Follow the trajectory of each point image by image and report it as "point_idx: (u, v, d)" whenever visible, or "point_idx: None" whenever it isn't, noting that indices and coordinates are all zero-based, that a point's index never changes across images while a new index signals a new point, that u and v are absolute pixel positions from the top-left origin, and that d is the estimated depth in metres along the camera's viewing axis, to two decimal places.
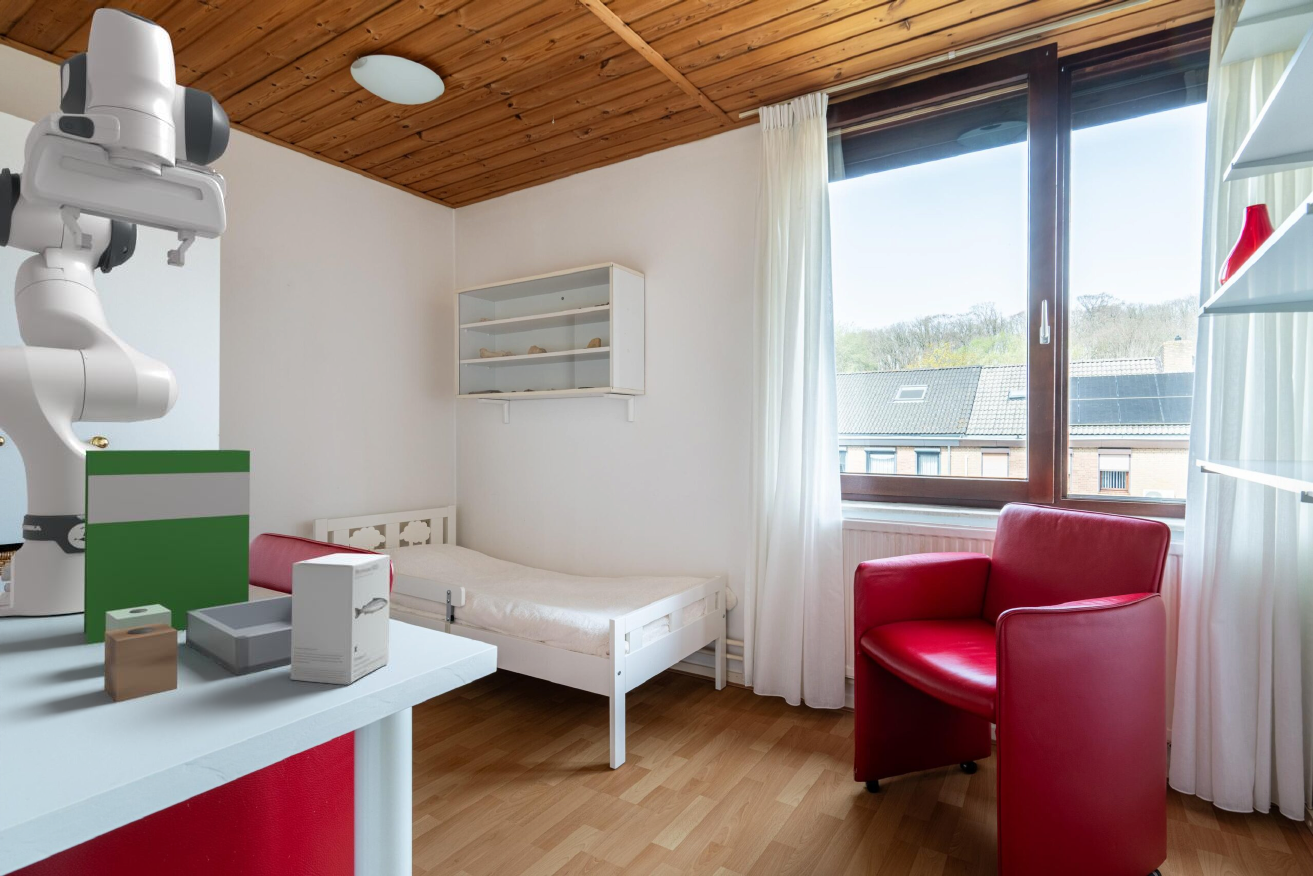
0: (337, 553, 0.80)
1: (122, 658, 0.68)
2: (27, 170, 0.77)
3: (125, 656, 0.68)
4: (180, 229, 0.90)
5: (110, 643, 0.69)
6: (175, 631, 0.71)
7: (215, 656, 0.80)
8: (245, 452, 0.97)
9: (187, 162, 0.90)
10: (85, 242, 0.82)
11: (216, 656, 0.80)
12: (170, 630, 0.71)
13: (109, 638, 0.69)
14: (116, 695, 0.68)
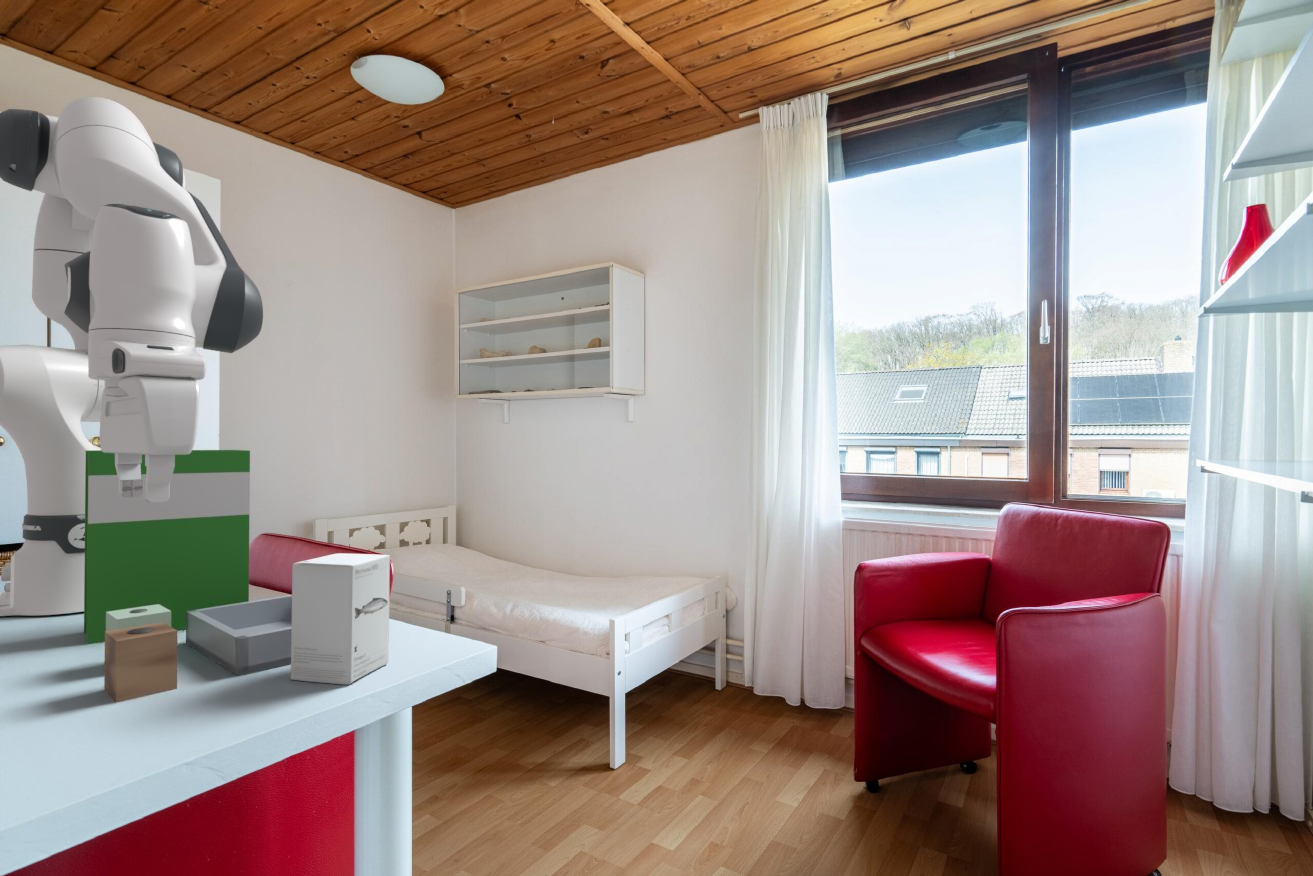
0: (337, 553, 0.80)
1: (122, 658, 0.68)
2: (195, 425, 0.66)
3: (125, 656, 0.68)
4: None
5: (110, 643, 0.69)
6: (175, 631, 0.71)
7: (215, 656, 0.80)
8: (245, 452, 0.97)
9: None
10: None
11: (216, 656, 0.80)
12: (170, 630, 0.71)
13: (109, 638, 0.69)
14: (116, 695, 0.68)
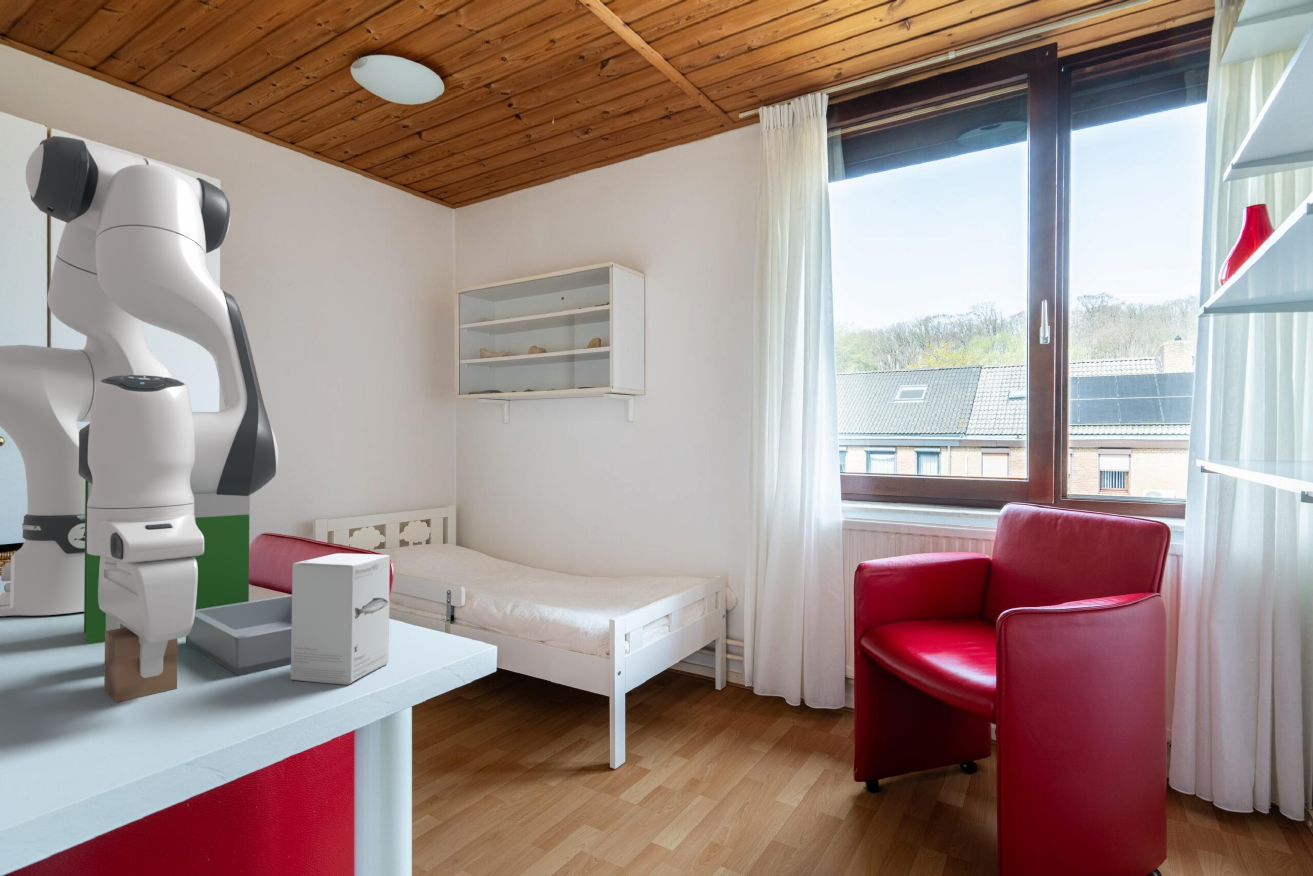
0: (337, 553, 0.80)
1: (122, 658, 0.68)
2: (193, 608, 0.66)
3: (125, 655, 0.68)
4: None
5: (110, 642, 0.69)
6: None
7: (215, 656, 0.80)
8: None
9: None
10: None
11: (216, 656, 0.80)
12: None
13: (109, 637, 0.69)
14: (116, 694, 0.68)
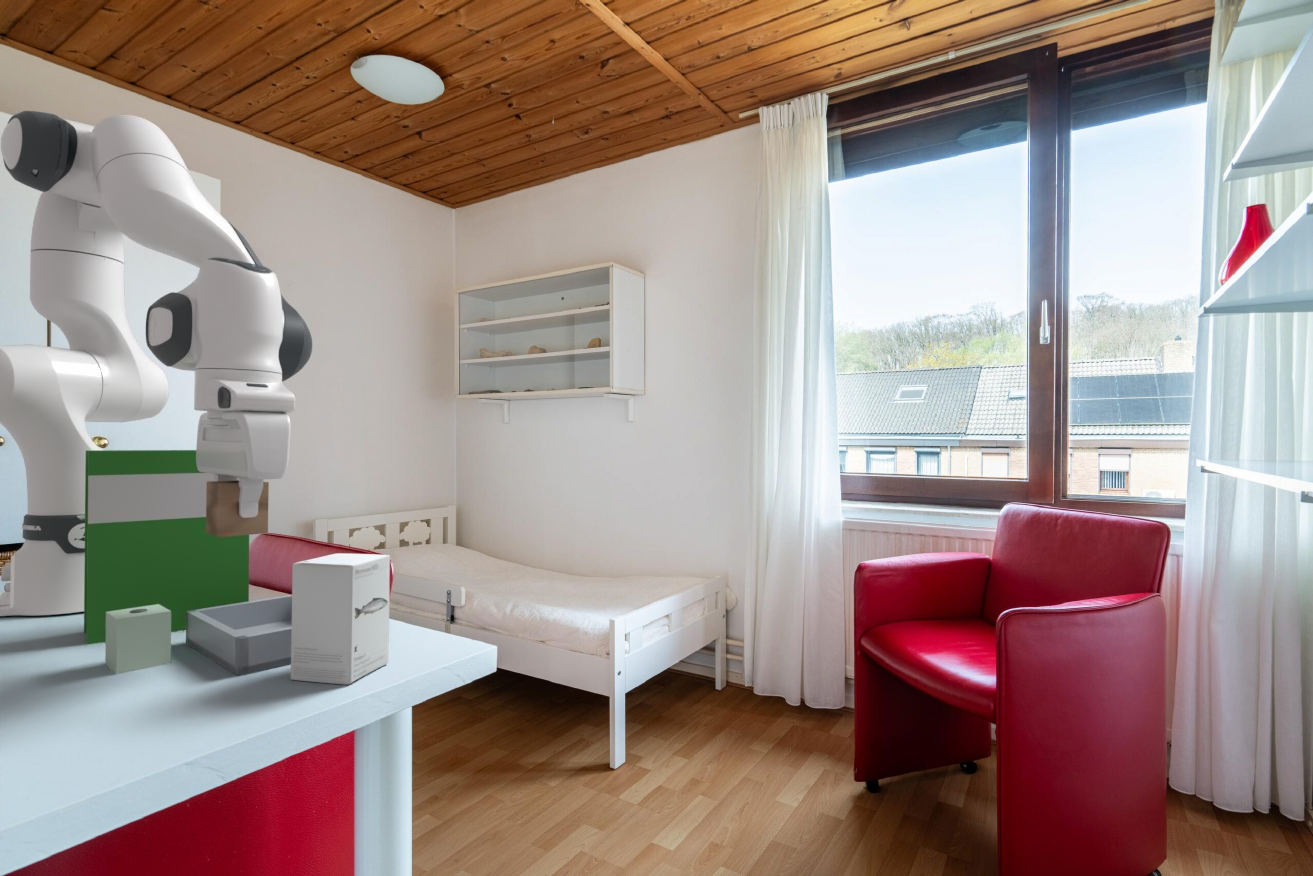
0: (337, 553, 0.80)
1: (224, 499, 0.78)
2: (287, 453, 0.76)
3: (227, 498, 0.79)
4: None
5: (213, 488, 0.80)
6: (266, 482, 0.82)
7: (215, 656, 0.80)
8: None
9: None
10: None
11: (216, 656, 0.80)
12: None
13: (211, 485, 0.80)
14: (219, 531, 0.78)
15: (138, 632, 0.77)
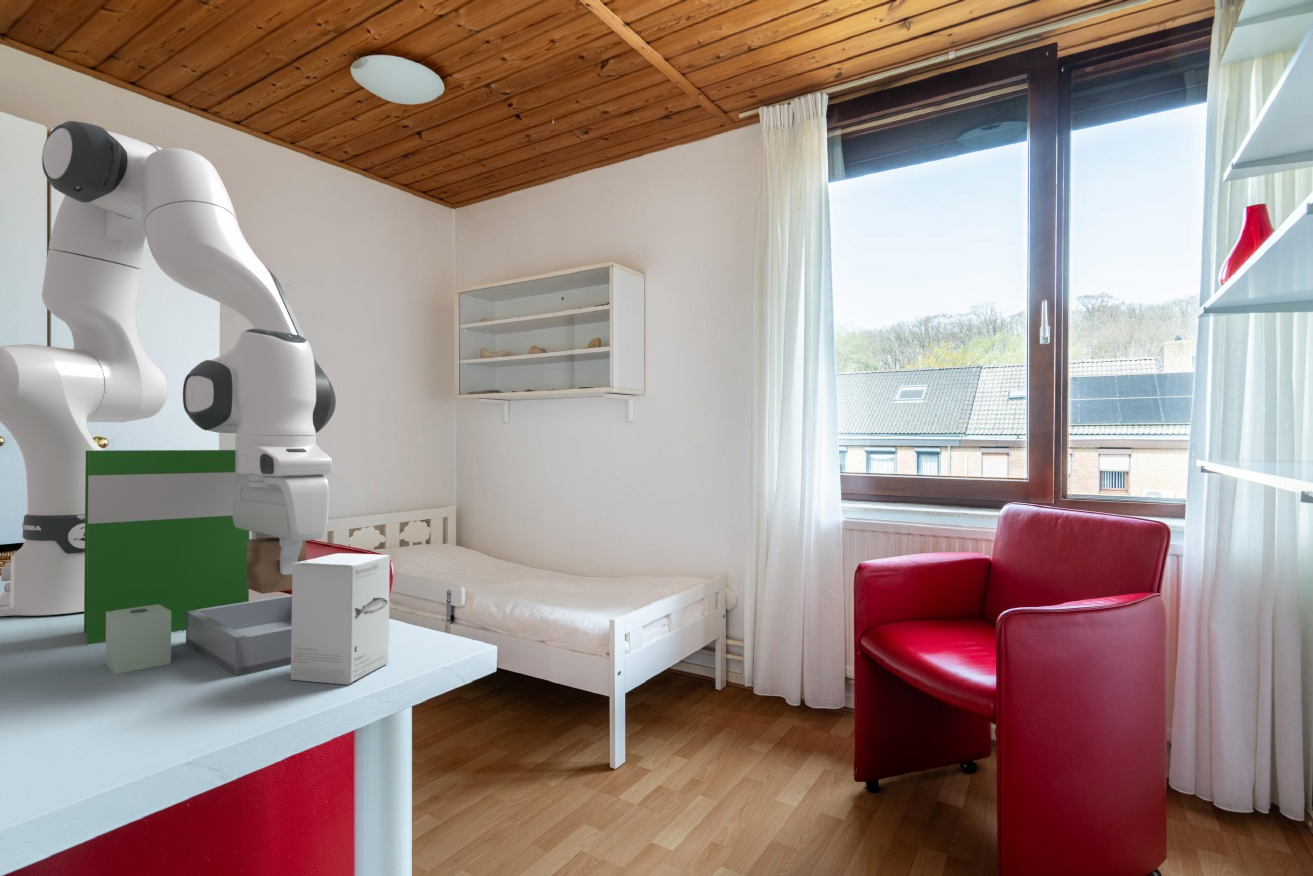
0: (337, 553, 0.80)
1: (266, 558, 0.83)
2: (327, 515, 0.81)
3: (268, 556, 0.83)
4: None
5: (254, 547, 0.84)
6: None
7: (215, 656, 0.80)
8: None
9: None
10: None
11: (216, 656, 0.80)
12: None
13: (253, 543, 0.85)
14: (262, 588, 0.83)
15: (138, 632, 0.77)
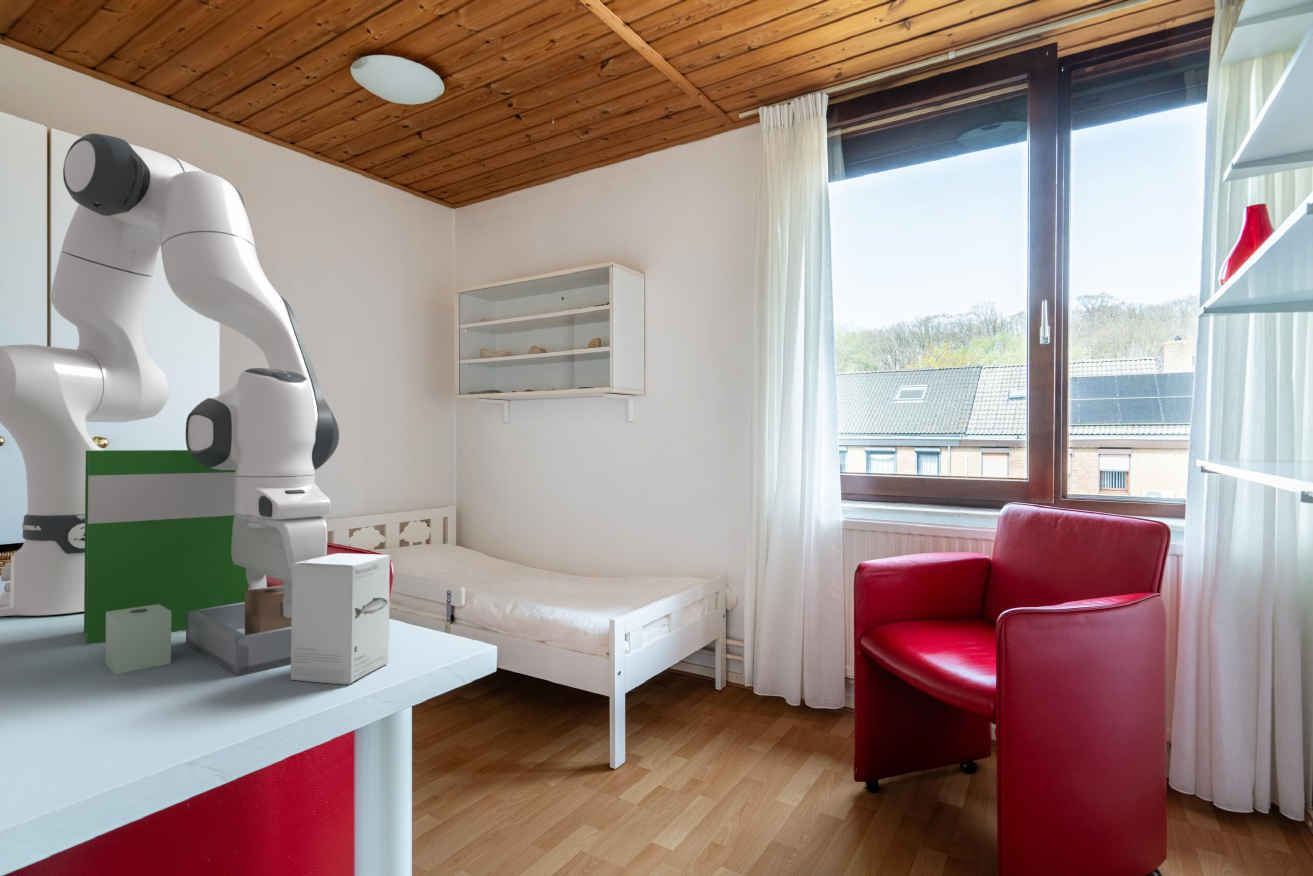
0: (337, 553, 0.80)
1: (263, 611, 0.83)
2: None
3: (266, 609, 0.83)
4: None
5: (252, 599, 0.84)
6: None
7: (215, 656, 0.80)
8: None
9: None
10: None
11: (216, 656, 0.80)
12: None
13: (250, 595, 0.85)
14: None
15: (138, 632, 0.77)
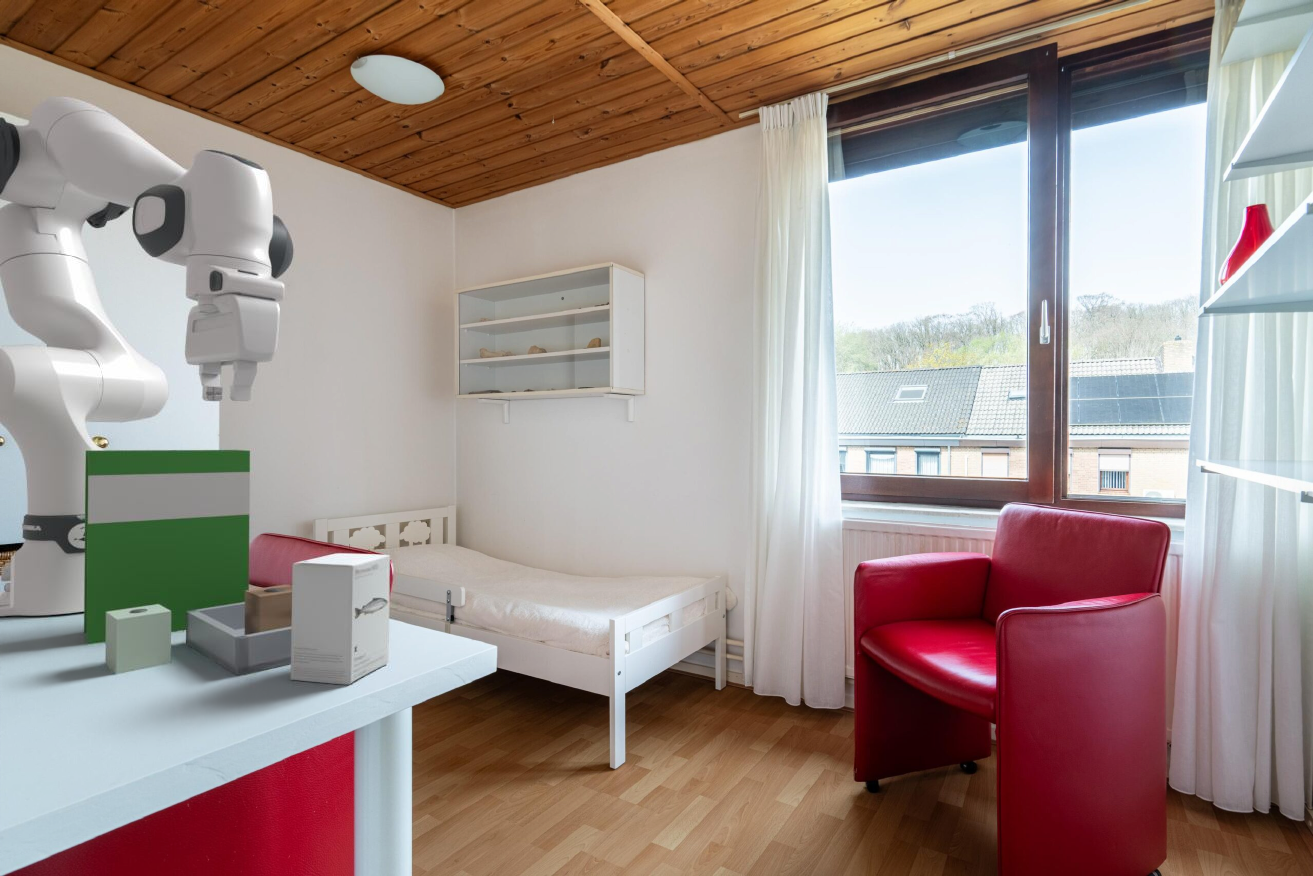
0: (337, 553, 0.80)
1: (263, 611, 0.83)
2: (276, 337, 0.80)
3: (266, 609, 0.83)
4: (213, 364, 0.88)
5: (252, 599, 0.84)
6: None
7: (215, 656, 0.80)
8: (245, 452, 0.97)
9: None
10: None
11: (216, 656, 0.80)
12: None
13: (250, 595, 0.85)
14: None
15: (138, 632, 0.77)
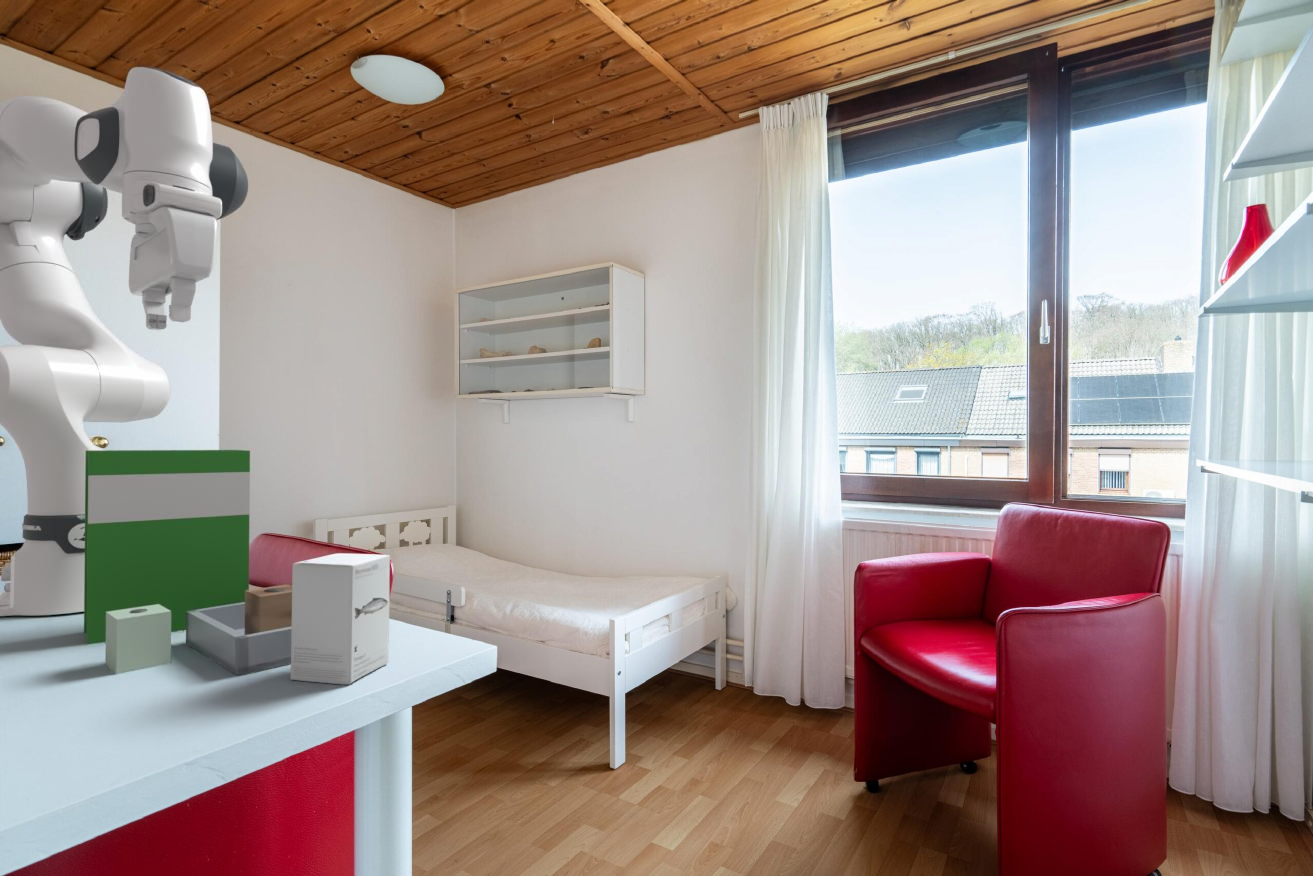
0: (337, 553, 0.80)
1: (263, 611, 0.83)
2: (213, 251, 0.78)
3: (266, 609, 0.83)
4: (156, 291, 0.86)
5: (252, 599, 0.84)
6: None
7: (215, 656, 0.80)
8: (245, 452, 0.97)
9: None
10: None
11: (216, 656, 0.80)
12: None
13: (250, 595, 0.85)
14: None
15: (138, 632, 0.77)
